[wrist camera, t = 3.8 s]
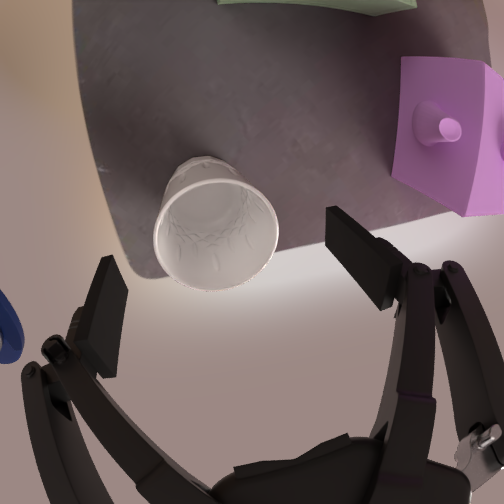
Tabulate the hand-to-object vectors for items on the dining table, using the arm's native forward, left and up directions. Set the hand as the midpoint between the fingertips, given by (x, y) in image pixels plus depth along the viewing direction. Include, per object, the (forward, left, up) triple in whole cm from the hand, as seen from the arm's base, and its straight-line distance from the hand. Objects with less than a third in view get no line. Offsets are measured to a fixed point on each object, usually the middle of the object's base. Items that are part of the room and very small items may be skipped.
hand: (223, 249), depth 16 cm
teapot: (+28, +5, -11) cm, 30 cm away
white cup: (0, 0, -11) cm, 11 cm away
